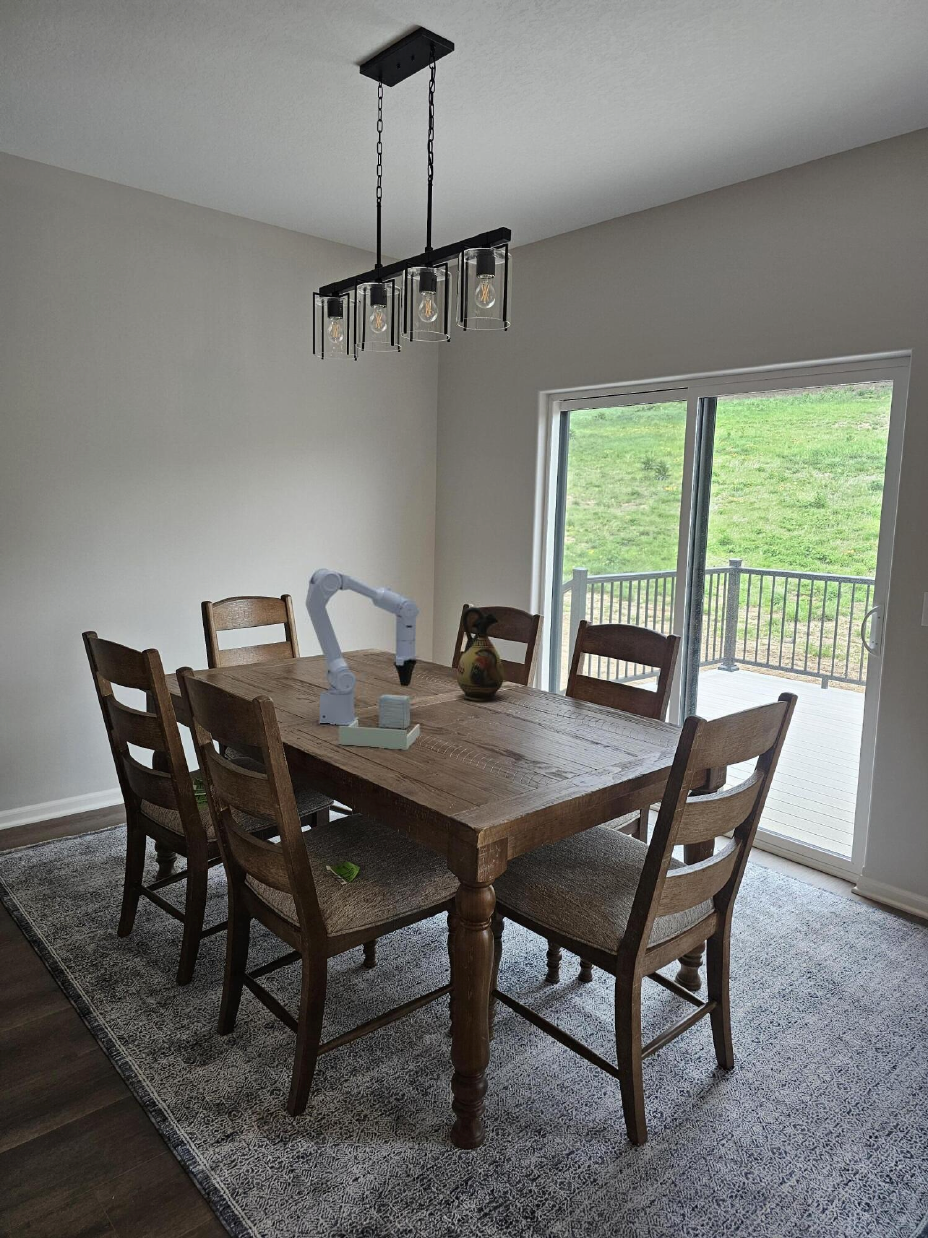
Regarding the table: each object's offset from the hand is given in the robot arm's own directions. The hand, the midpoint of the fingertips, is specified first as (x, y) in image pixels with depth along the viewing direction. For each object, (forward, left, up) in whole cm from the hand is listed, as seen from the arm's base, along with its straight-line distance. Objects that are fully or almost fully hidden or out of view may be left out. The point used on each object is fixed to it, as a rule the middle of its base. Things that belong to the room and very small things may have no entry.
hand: (405, 685), depth 240 cm
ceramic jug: (+17, +29, -10) cm, 35 cm away
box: (0, -26, -9) cm, 28 cm away
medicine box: (0, -12, -10) cm, 15 cm away
